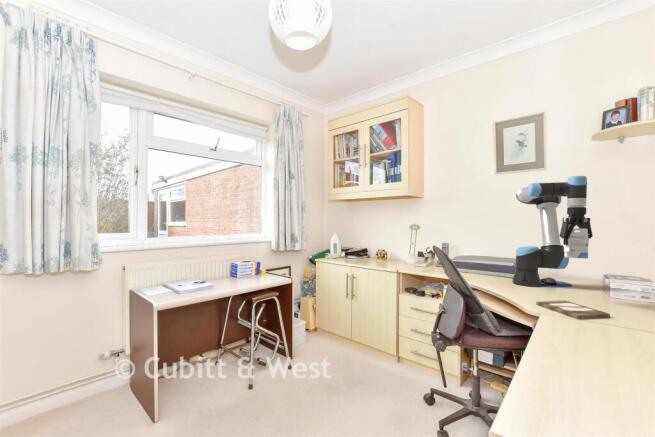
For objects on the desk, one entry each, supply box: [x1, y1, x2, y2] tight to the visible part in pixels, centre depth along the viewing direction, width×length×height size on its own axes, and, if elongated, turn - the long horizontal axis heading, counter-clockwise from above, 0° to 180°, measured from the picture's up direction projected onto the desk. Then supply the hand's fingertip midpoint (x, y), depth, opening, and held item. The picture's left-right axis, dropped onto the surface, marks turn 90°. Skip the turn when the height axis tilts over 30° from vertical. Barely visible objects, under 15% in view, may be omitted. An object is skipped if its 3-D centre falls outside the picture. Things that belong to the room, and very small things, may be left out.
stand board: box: [535, 299, 611, 320], centre depth 135 cm, size 20×16×2 cm
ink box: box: [565, 227, 589, 259], centre depth 151 cm, size 9×5×15 cm, turn 62°
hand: (575, 251), depth 151 cm, fingers closed on ink box, 9 cm apart
